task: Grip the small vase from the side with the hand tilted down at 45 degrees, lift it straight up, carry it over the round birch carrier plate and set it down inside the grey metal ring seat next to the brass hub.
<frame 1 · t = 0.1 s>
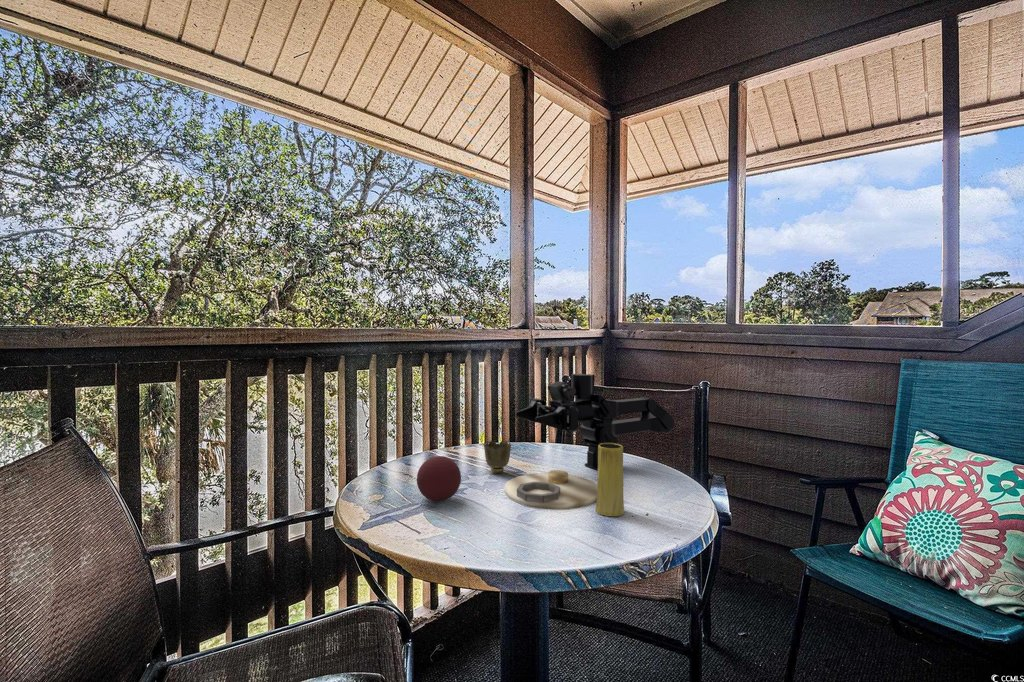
hand: (525, 417, 122), 17 cm above the table, tool horizontal, fingers open, 9 cm apart
decorative ball: (438, 501, 108), on the table
carrier: (552, 491, 115), on the table
cup: (497, 473, 130), on the table
vase: (610, 512, 102), on the table
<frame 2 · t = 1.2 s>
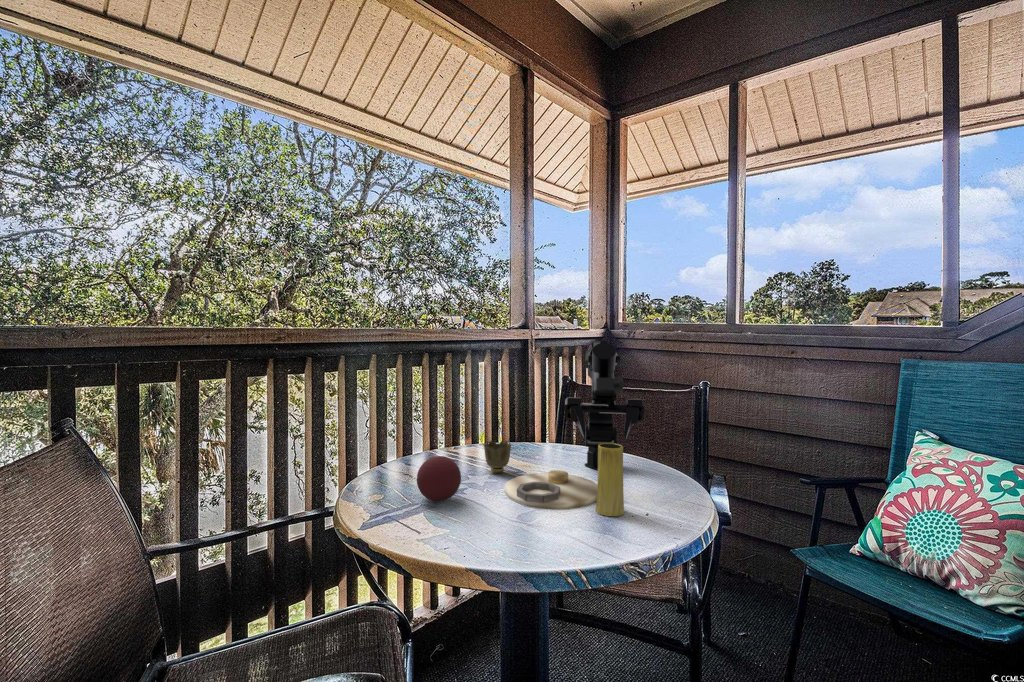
hand: (604, 438, 110), 14 cm above the table, tool tilted 45°, fingers open, 9 cm apart
nothing on the table moved.
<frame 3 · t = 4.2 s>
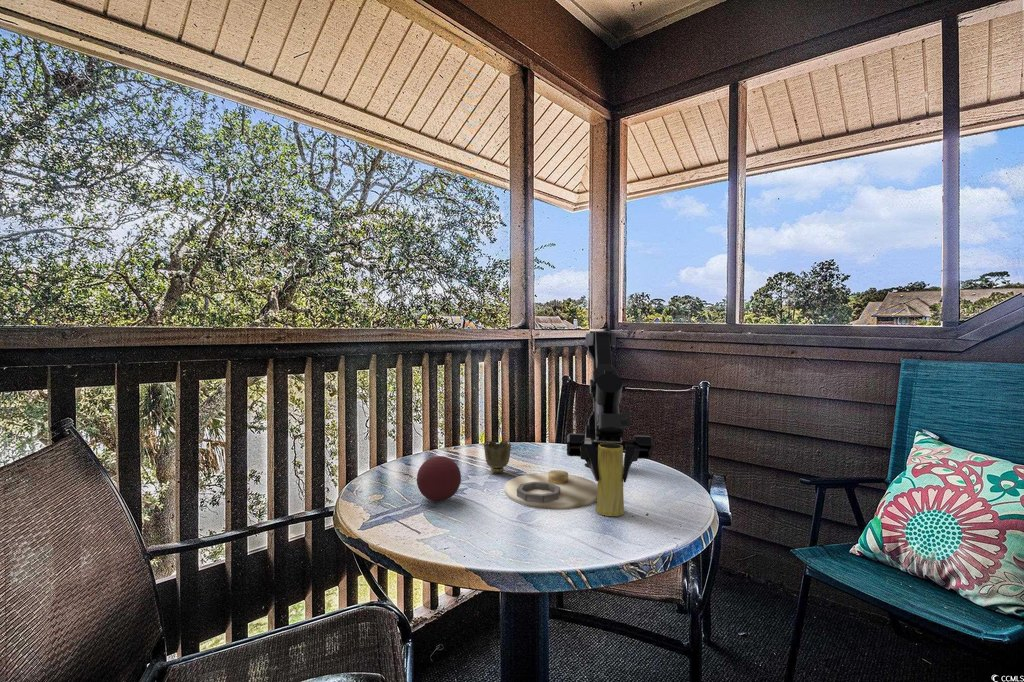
hand: (611, 480, 100), 7 cm above the table, tool tilted 45°, fingers closed on vase, 5 cm apart
vase: (610, 512, 102), on the table, touching gripper
everything else where it was.
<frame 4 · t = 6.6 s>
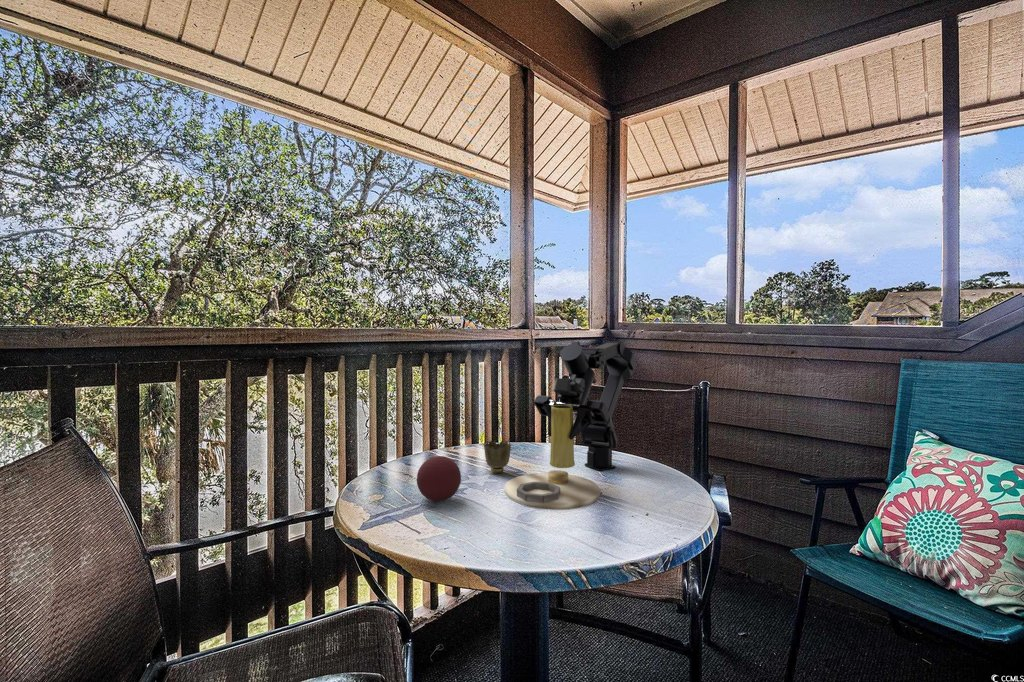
hand: (559, 437, 114), 13 cm above the table, tool tilted 45°, fingers closed on vase, 5 cm apart
vase: (562, 465, 116), point 6 cm above the table, touching gripper
everything else where it was.
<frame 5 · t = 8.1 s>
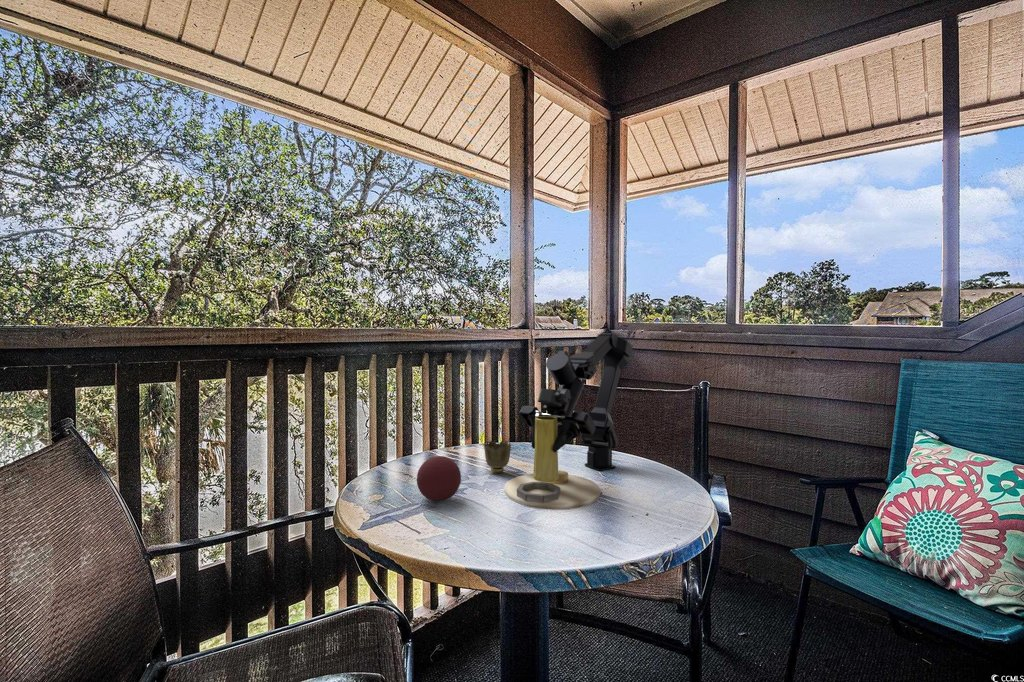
hand: (543, 449, 111), 11 cm above the table, tool tilted 45°, fingers closed on vase, 5 cm apart
vase: (545, 478, 112), point 4 cm above the table, touching gripper
everything else where it was.
when the fingers open (10 cm above the table, at t = 9.2 s): vase drops 2 cm, resting on carrier.
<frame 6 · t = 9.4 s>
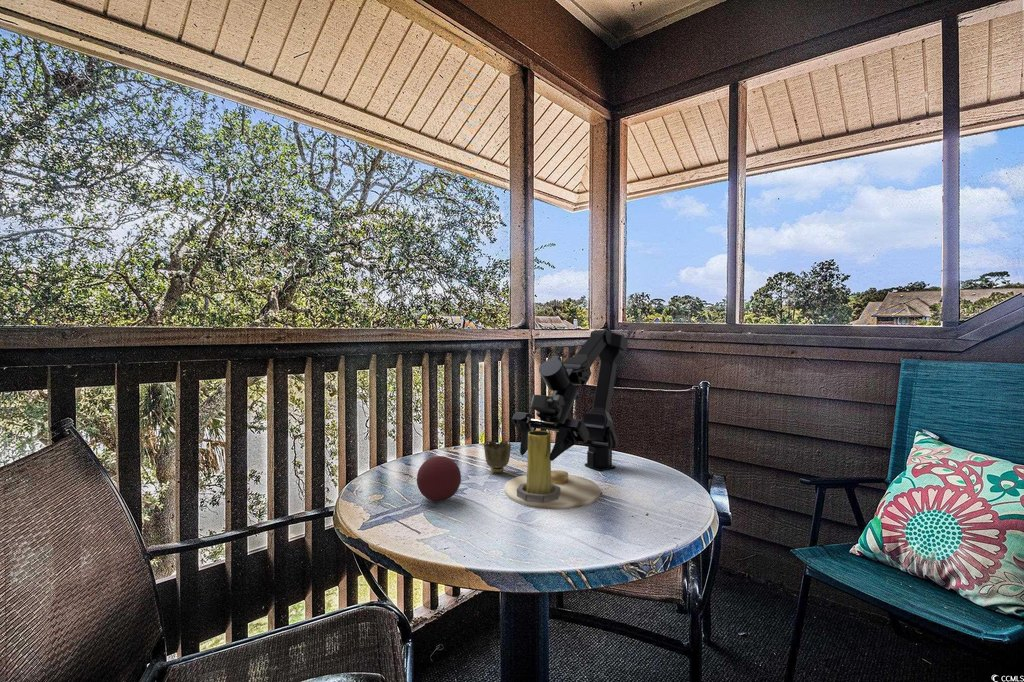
hand: (535, 457, 108), 10 cm above the table, tool tilted 45°, fingers open, 8 cm apart
vase: (538, 495, 110), point 1 cm above the table, touching carrier
everything else where it was.
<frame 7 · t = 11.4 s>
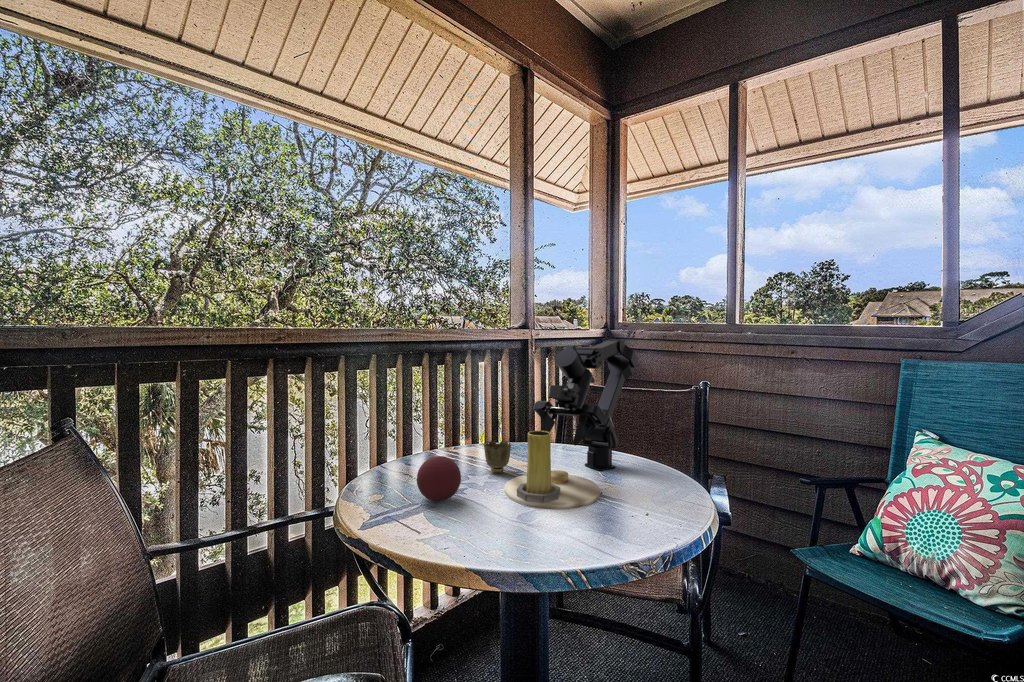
hand: (558, 442, 116), 11 cm above the table, tool tilted 35°, fingers open, 9 cm apart
nothing on the table moved.
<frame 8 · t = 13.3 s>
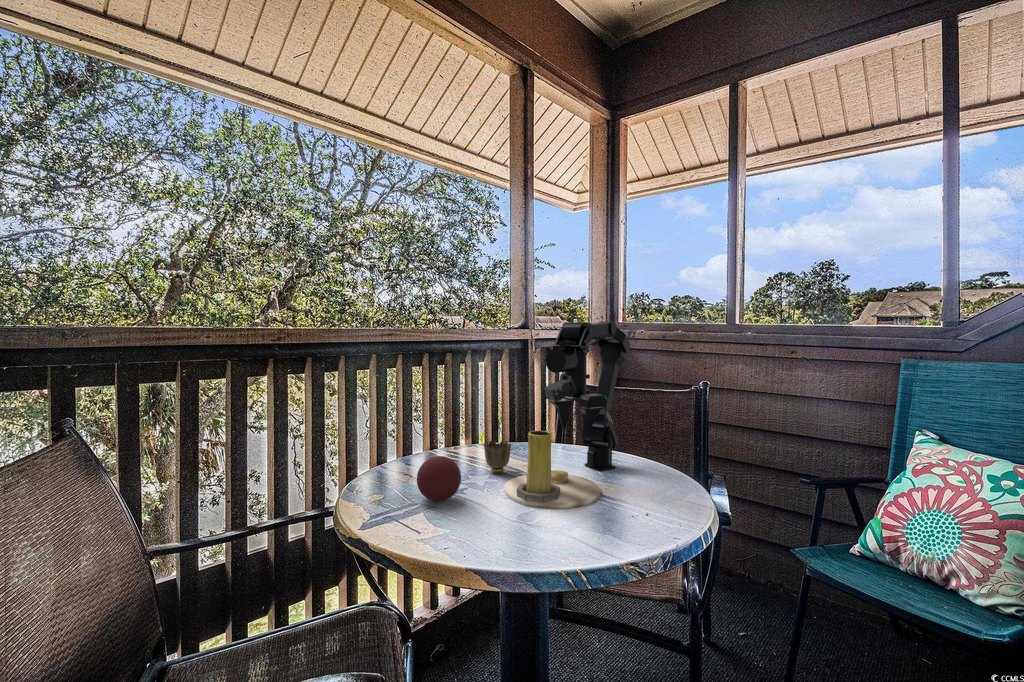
hand: (574, 430, 123), 13 cm above the table, tool pointing down, fingers open, 9 cm apart
nothing on the table moved.
at the end: vase 0.3 cm from the target spot on the carrier, point 0.8 cm above the carrier's base; vase tilted 1°; the gripper is holding nothing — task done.
